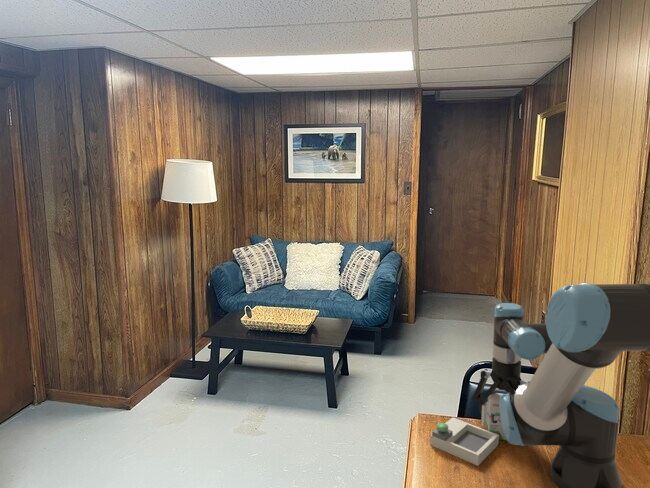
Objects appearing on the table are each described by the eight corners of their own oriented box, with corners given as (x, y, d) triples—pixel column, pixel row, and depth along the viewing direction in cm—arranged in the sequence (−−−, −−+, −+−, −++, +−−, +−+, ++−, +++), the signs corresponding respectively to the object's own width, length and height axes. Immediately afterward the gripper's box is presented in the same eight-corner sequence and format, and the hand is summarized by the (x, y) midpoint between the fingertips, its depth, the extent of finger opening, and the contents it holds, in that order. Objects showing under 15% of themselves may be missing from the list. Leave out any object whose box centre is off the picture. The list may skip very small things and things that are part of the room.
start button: (449, 433, 132) (450, 425, 132) (444, 438, 130) (444, 429, 129) (440, 429, 134) (440, 421, 134) (434, 434, 132) (434, 425, 131)
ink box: (488, 438, 135) (489, 400, 133) (486, 429, 140) (487, 392, 138) (520, 442, 133) (522, 403, 131) (517, 432, 138) (519, 394, 136)
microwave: (498, 444, 132) (499, 431, 131) (477, 465, 123) (478, 451, 123) (452, 426, 142) (452, 413, 141) (430, 444, 133) (430, 431, 132)
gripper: (554, 365, 128) (549, 441, 131) (474, 344, 143) (471, 412, 147) (544, 375, 122) (539, 453, 126) (462, 351, 138) (459, 422, 142)
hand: (502, 431), depth 136 cm, fingers open, 10 cm apart
